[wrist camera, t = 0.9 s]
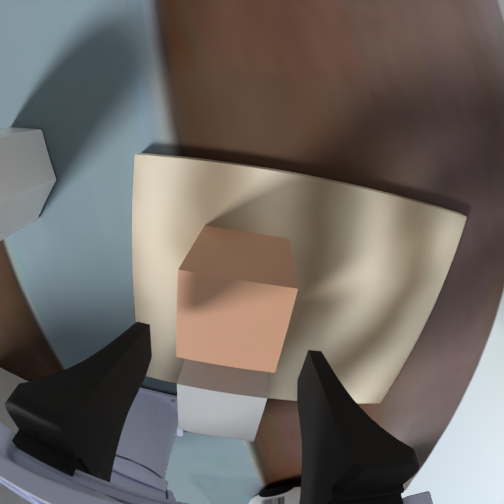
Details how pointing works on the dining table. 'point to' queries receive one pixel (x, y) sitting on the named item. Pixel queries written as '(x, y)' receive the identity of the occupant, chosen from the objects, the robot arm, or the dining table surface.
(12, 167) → the jar
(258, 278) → the terracotta cover
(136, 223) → the birch board
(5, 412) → the white triangular prism
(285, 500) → the milk container
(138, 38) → the dining table surface
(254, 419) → the grey cover
